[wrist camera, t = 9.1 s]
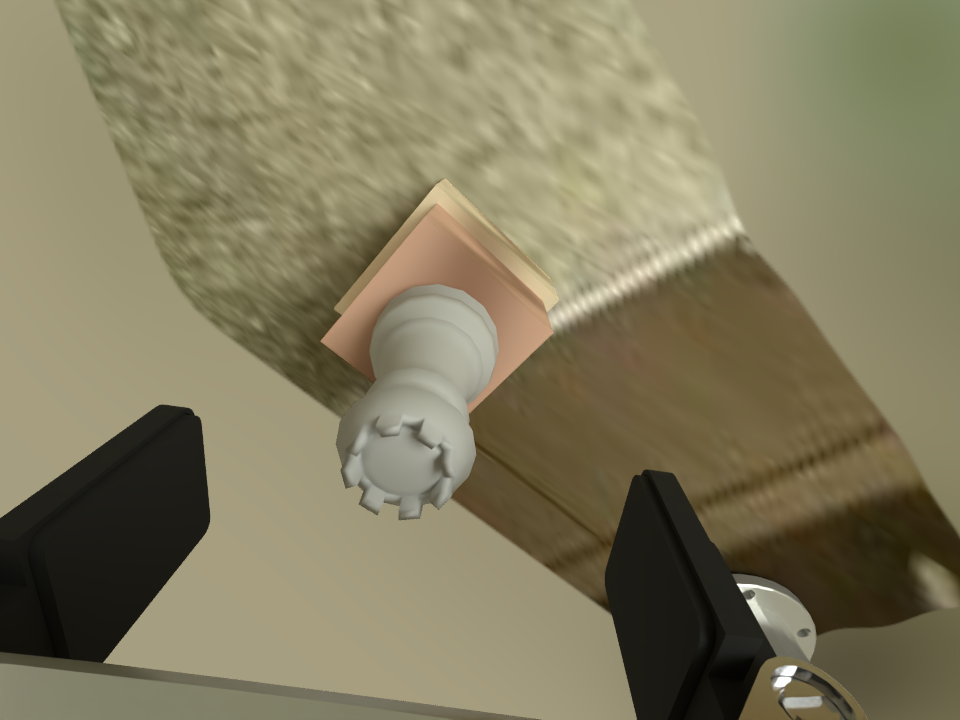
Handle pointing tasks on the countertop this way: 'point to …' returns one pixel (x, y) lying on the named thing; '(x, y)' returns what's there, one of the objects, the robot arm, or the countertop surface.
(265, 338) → the countertop surface
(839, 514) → the countertop surface
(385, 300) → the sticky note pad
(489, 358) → the rook chess piece
